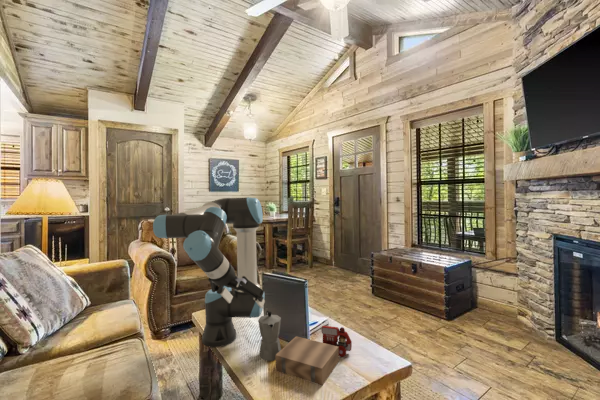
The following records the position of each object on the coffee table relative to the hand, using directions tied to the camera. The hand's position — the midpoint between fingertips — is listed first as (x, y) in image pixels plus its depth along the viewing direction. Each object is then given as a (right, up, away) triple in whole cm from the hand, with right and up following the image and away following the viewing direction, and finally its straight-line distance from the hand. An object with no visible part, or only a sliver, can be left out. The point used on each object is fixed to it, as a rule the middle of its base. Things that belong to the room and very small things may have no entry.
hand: (246, 302), depth 107 cm
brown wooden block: (+22, -27, +6) cm, 36 cm away
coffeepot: (+7, -27, +16) cm, 32 cm away
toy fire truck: (+35, -27, +16) cm, 47 cm away
